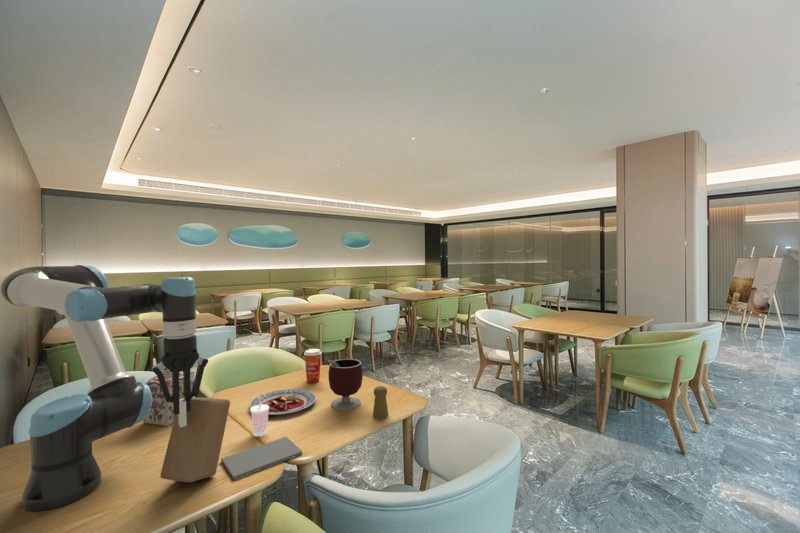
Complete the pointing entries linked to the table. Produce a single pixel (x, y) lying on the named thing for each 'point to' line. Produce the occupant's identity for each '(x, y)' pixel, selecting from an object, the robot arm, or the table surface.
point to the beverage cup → (259, 419)
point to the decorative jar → (163, 400)
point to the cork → (380, 402)
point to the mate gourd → (345, 382)
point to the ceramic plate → (285, 401)
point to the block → (196, 441)
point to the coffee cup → (312, 365)
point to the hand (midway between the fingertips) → (182, 424)
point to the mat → (260, 457)
